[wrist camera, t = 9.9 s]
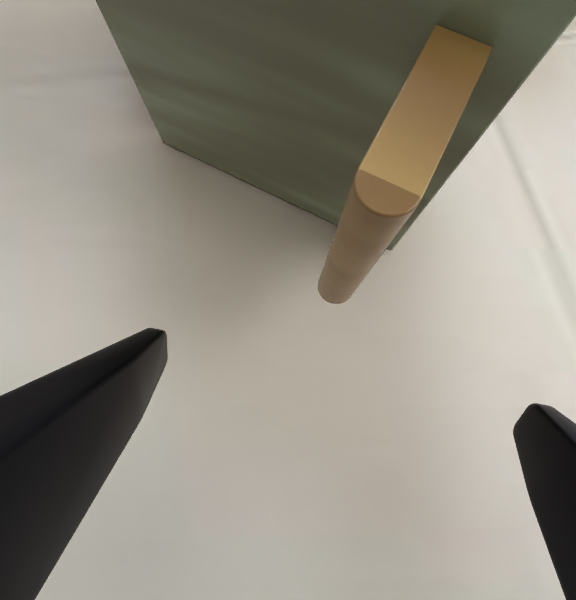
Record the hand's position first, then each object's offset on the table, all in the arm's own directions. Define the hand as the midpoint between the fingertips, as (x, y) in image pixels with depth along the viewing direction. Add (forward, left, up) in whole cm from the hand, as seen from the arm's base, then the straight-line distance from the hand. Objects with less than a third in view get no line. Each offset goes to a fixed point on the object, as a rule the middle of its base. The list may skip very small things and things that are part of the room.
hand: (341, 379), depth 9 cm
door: (+9, +3, -10) cm, 14 cm away
